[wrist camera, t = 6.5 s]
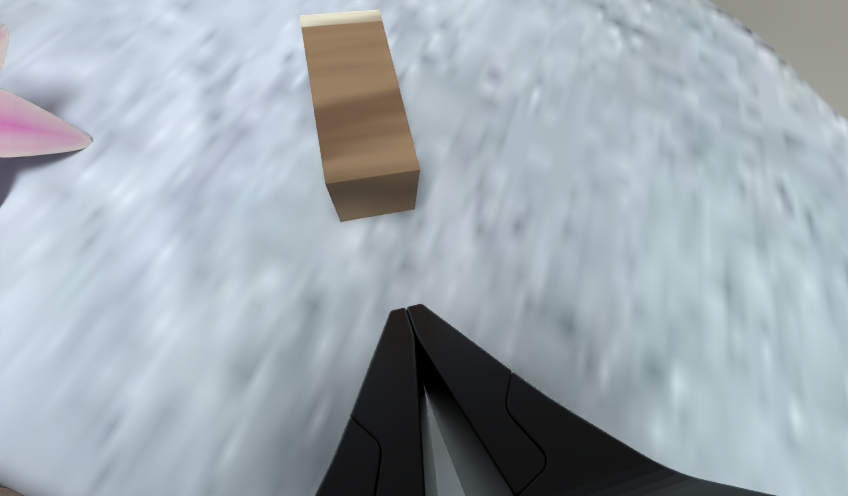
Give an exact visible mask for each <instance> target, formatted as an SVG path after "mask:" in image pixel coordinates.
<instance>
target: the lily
mask: <svg viewBox="0 0 848 496" xmlns="http://www.w3.org/2000/svg"><path fill="white" fill-rule="evenodd" d="M8 43H9V31H8V29H7V27H6V25H4V24H0V73H1V70H2V67H3V64H4V61H5V57H6V53H7V48H8ZM91 143H92V140H91V138H90V137H89V136H88V135H86V134H85V133H83V132H82V131H81V130H79V129H78V128H76V127H74V126H73V125H71V124H69V123H68V122H66V121H64V120H62V119H61V118H59V117H57V116H55V115H53V114H52V113H50V112H48V111H46V110H44V109H42V108H40V107H39V106H37V105H35V104H33V103H31V102H29V101H27V100H25V99H23V98H21V97H19V96H17V95H15V94H13V93H11V92H8V91H6V90H4V89H1V88H0V157H21V156H34V155H44V154H54V153H62V152H69V151H76V150H80V149H84V148H87V147H88V146H89V145H90V144H91Z"/></svg>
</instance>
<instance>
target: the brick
mask: <svg viewBox="0 0 848 496" xmlns="http://www.w3.org/2000/svg"><path fill="white" fill-rule="evenodd" d="M0 496H23V495H20V494H18V493H16V492H14V491H12V490H10V489H8V488H2V487H0Z"/></svg>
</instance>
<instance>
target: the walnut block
mask: <svg viewBox="0 0 848 496" xmlns="http://www.w3.org/2000/svg"><path fill="white" fill-rule="evenodd" d="M300 21H301V28H302V34H303V41H304V47H305V54H306V60H307V67H308V73H309V80H310V86H311V93H312V99H313V106H314V113H315V119H316V126H317V132H318V139H319V145H320V152H321V158H322V165H323V171H324V178H325V184H326V187H327V189H328V192H329V194H330V197H331V199H332V202H333V204H334V207H335V209H336V212H337V214H338V217H339V219H340V222H342V221H347V220H353V219H359V218H365V217H371V216H377V215H383V214H389V213H394V212H400V211H406V210H412V209H415V201H416V194H417V187H418V180H419V172H420V168H419V164H418V160H417V156H416V152H415V148H414V144H413V140H412V136H411V132H410V129H409V125H408V121H407V117H406V113H405V109H404V105H403V101H402V97H401V93H400V89H399V85H398V81H397V77H396V73H395V69H394V65H393V61H392V57H391V54H390V50H389V46H388V42H387V38H386V34H385V30H384V26H383V22H382V18H381V14H380V10H366V11H353V12H339V13H326V14H312V15H300Z"/></svg>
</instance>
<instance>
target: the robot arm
mask: <svg viewBox="0 0 848 496" xmlns="http://www.w3.org/2000/svg"><path fill="white" fill-rule="evenodd" d="M424 388H425V389H424ZM425 391H426V394H427V397H428V400H429V403H430V405H431V408H432V410H433V413H434V416H435V418H436V421H437V423H438V426H439V428H440V431H441V434H442V436H443V439H444V441H445V444H446V446H447V449H448V452H449V454H450V457H451V459H452V462H453V464H454V467H455V470H456V472H457V475H458V477H459V480H460V482H461V485H462V488H463V490H464V493H465V495H466V496H775V495H771V494H766V493H762V492H757V491H753V490H748V489H744V488H739V487H734V486H730V485H725V484H721V483H716V482H712V481H707V480H703V479H699V478H695V477H692V476H689V475H686V474H683V473H680V472H678V471H675V470H673V469H670V468H668V467H666V466H664V465H662V464H660V463H657V462H655V461H653V460H652V459H650V458H648V457H646V456H644V455H643V454H641V453H639V452H638V451H636V450H634V449H633V448H631V447H629V446H628V445H626V444H624V443H623V442H621V441H619V440H618V439H616V438H614V437H613V436H611V435H609V434H608V433H606V432H604V431H603V430H601V429H599V428H598V427H596V426H594V425H593V424H591V423H589V422H588V421H586V420H584V419H583V418H581V417H579V416H578V415H576V414H574V413H573V412H571V411H569V410H568V409H566V408H565V407H563V406H561V405H560V404H558V403H557V402H555V401H554V400H552V399H550V398H549V397H547V396H546V395H544V394H543V393H542V392H540V391H539V390H537V389H536V388H535V387H533V386H532V385H530V384H529V383H527V382H526V381H525V380H523V379H522V378H521V377H519V376H518V375H517V374H515V373H512V371H511V370H510V369H509V368H507V367H506V366H504V365H503V364H502V363H500V362H499V361H498V360H496V359H495V358H494V357H492V356H491V355H490V354H488V353H487V352H486V351H484V350H483V349H482V348H480V347H479V346H478V345H476V344H475V343H474V342H472V341H471V340H470V339H468V338H467V337H466V336H464V335H463V334H462V333H460V332H459V331H458V330H456V329H455V328H454V327H452V326H451V325H450V324H448V323H447V322H446V321H444V320H443V319H442V318H440V317H439V316H438V315H436V314H435V313H434V312H432V311H431V310H430V309H428V308H427V307H426V306H424V305H423V304H418V305H413V306H409V307H408V308H407V310H406V309H405V308H401V309H397V310H393V311H391V312H390V313H389V316H388V319H387V321H386V324H385V326H384V329H383V332H382V334H381V337H380V339H379V342H378V345H377V347H376V350H375V352H374V355H373V358H372V360H371V363H370V365H369V368H368V371H367V373H366V376H365V378H364V381H363V384H362V386H361V389H360V391H359V394H358V397H357V399H356V402H355V404H354V407H353V410H352V412H351V415H350V419H349V420H348V422H347V425H346V427H345V430H344V433H343V435H342V438H341V440H340V443H339V445H338V447H337V450H336V452H335V454H334V457H333V459H332V462H331V464H330V466H329V468H328V470H327V472H326V474H325V476H324V478H323V480H322V482H321V484H320V486H319V488H318V490H317V493H316V494H315V496H438V493H437V485H436V476H435V468H434V460H433V452H432V443H431V435H430V427H429V418H428V410H427V402H426V395H425Z"/></svg>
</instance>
